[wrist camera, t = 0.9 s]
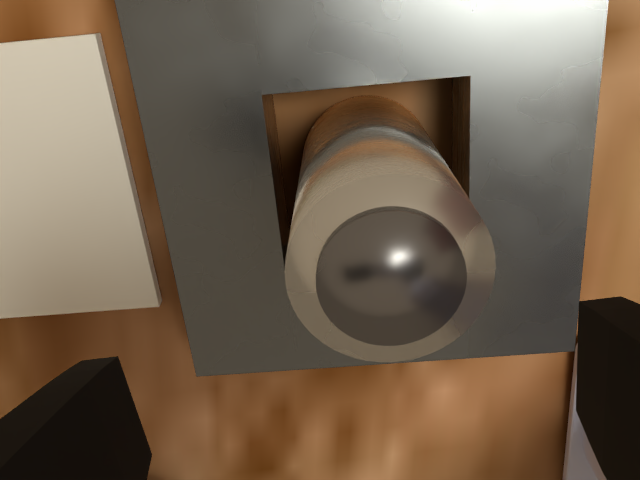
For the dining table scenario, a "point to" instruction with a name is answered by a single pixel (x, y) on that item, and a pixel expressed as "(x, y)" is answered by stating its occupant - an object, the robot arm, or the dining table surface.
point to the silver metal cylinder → (383, 237)
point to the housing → (357, 70)
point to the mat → (67, 186)
